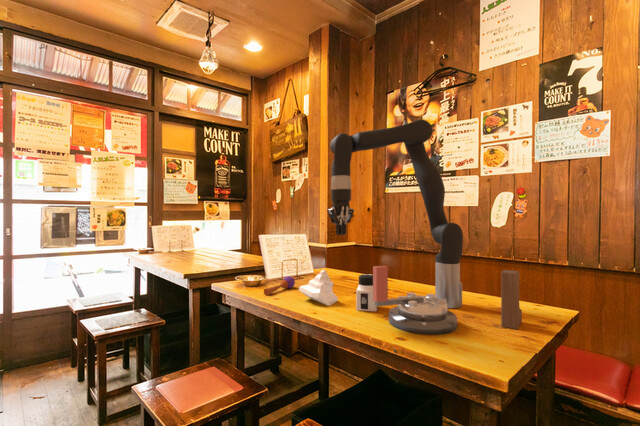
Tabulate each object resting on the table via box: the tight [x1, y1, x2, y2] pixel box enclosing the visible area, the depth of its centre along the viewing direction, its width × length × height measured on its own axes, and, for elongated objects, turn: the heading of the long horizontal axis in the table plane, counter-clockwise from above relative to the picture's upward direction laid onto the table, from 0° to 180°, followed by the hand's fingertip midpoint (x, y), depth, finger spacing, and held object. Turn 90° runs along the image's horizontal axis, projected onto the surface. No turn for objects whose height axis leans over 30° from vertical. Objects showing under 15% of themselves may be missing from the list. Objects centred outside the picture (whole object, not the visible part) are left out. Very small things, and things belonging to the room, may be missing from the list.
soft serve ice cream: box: [298, 269, 339, 307], centre depth 140 cm, size 12×15×14 cm
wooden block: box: [500, 269, 523, 330], centre depth 111 cm, size 9×4×18 cm, turn 140°
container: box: [355, 273, 378, 312], centre depth 130 cm, size 8×8×13 cm
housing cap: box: [388, 305, 458, 336], centre depth 112 cm, size 22×22×3 cm
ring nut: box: [372, 265, 448, 321], centre depth 111 cm, size 26×16×16 cm, turn 107°
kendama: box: [263, 276, 296, 296], centre depth 159 cm, size 6×6×20 cm
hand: (341, 234), depth 124 cm, fingers closed
